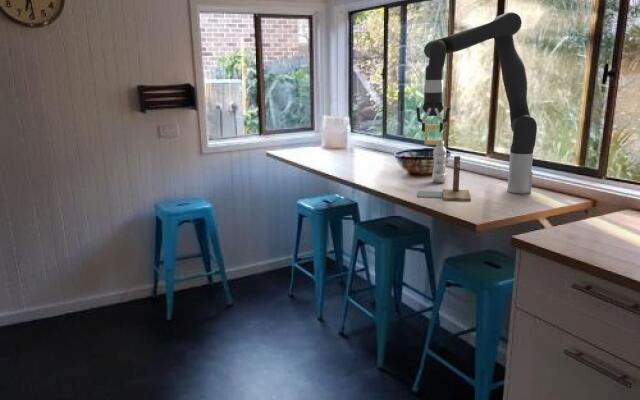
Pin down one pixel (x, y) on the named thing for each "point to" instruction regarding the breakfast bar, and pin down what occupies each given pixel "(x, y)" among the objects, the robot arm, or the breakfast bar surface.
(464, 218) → the breakfast bar surface
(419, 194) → the mat
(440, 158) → the plastic bottle
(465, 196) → the stand
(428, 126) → the c link
